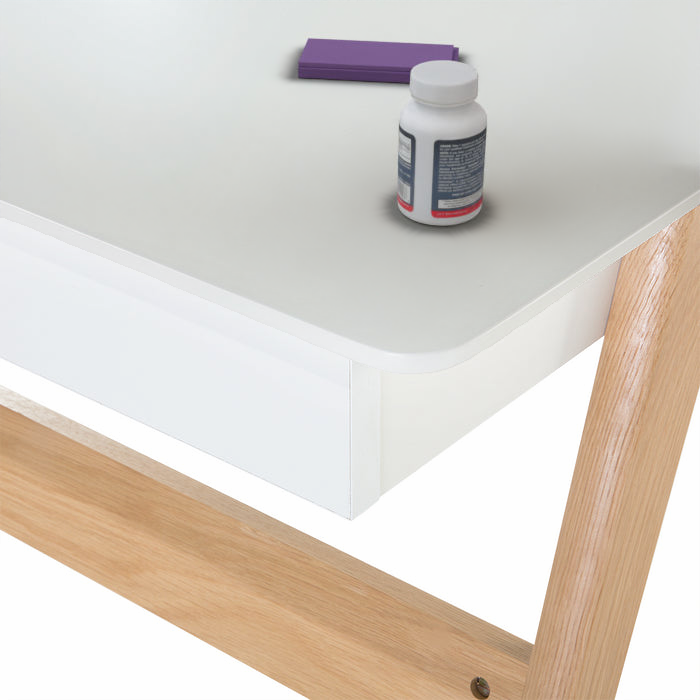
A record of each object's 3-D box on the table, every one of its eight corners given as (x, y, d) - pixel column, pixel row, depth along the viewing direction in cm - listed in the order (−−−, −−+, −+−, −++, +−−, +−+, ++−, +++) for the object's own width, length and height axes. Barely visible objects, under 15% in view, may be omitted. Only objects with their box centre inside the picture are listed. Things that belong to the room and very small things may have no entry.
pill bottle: (494, 200, 78) (505, 65, 73) (461, 235, 74) (469, 95, 69) (418, 182, 80) (423, 49, 75) (382, 215, 76) (385, 78, 71)
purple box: (458, 56, 98) (459, 42, 97) (454, 85, 93) (455, 70, 93) (309, 49, 99) (309, 35, 99) (298, 77, 94) (297, 62, 94)
